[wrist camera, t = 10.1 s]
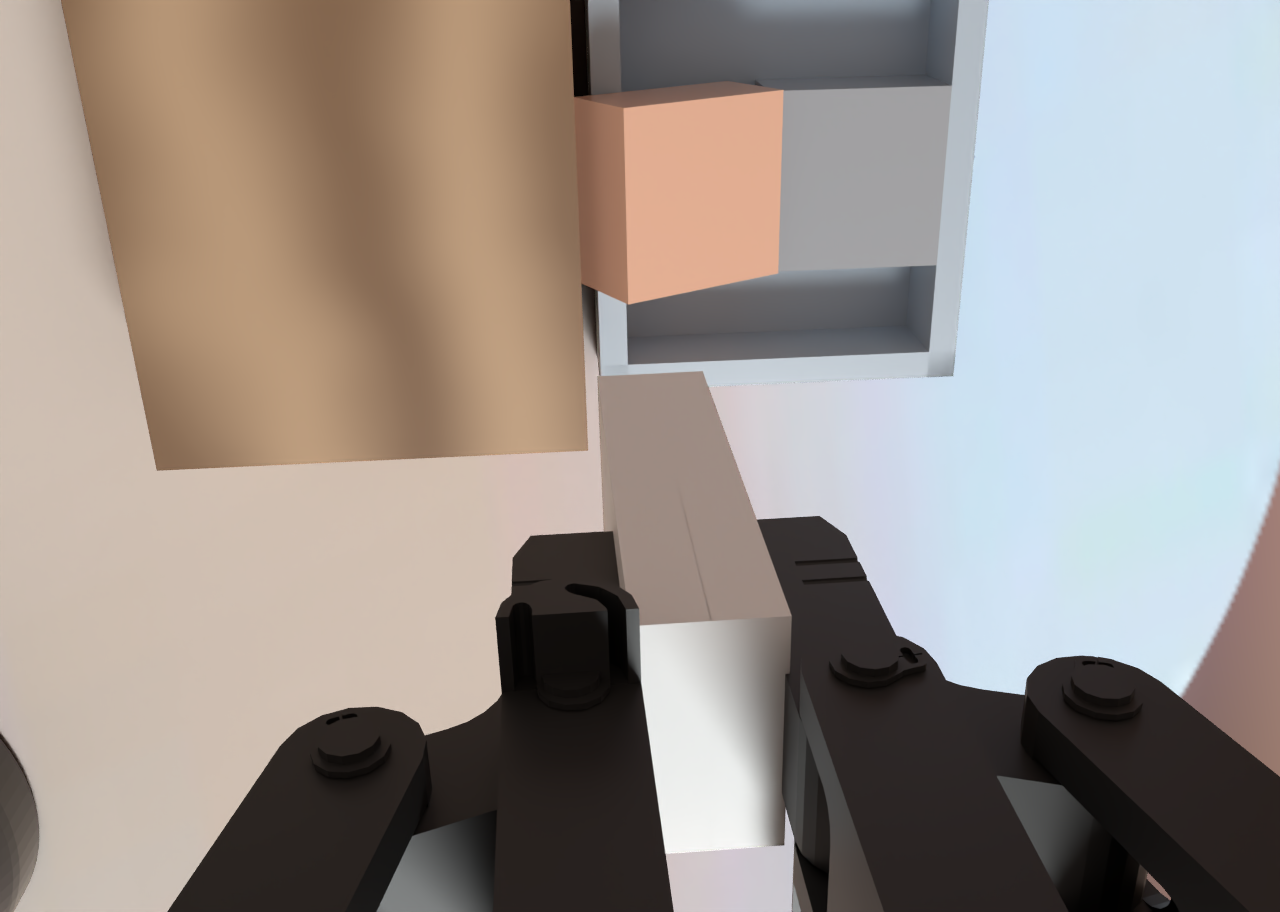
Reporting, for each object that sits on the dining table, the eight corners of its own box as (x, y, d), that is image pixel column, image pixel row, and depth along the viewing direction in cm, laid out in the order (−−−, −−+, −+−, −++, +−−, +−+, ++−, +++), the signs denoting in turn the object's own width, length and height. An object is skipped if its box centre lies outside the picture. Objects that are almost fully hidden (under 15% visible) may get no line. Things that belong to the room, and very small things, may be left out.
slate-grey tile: (936, 265, 35) (912, 243, 37) (952, 85, 33) (925, 74, 35) (765, 272, 34) (751, 249, 37) (769, 91, 32) (754, 79, 35)
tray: (597, 357, 38) (601, 391, 36) (583, -52, 33) (586, -48, 31) (924, 343, 39) (953, 375, 36) (958, -60, 34) (994, -58, 31)
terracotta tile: (580, 283, 33) (628, 304, 32) (572, 97, 31) (623, 108, 29) (725, 255, 36) (778, 273, 34) (727, 80, 34) (783, 89, 32)
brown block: (203, 403, 38) (157, 470, 33) (114, -81, 32) (44, -81, 28) (582, 387, 39) (587, 450, 34) (563, -91, 33) (566, -91, 28)
